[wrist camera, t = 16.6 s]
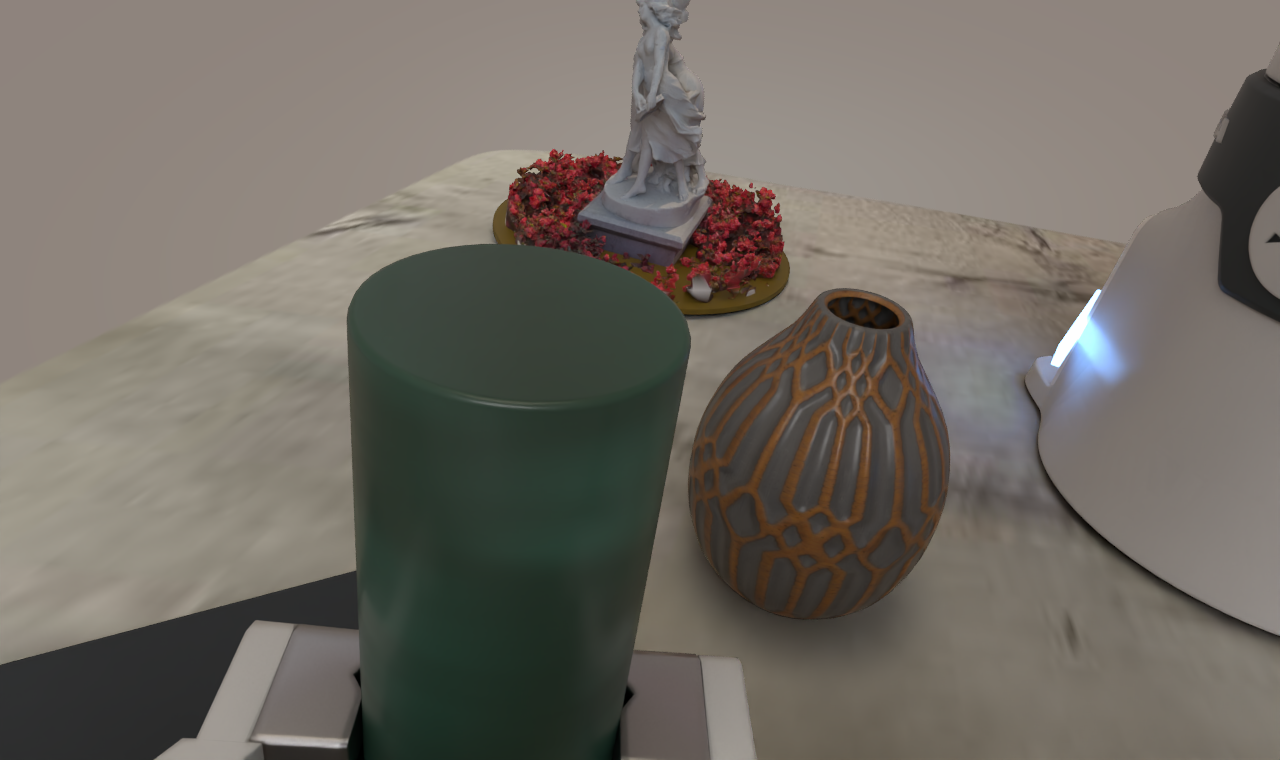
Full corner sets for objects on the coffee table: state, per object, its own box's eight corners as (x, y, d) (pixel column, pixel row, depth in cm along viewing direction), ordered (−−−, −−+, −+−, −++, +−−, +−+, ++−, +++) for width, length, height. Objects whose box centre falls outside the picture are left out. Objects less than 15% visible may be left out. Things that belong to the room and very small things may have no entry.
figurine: (438, 254, 40) (459, -100, 33) (555, 166, 53) (589, -105, 46) (763, 348, 38) (863, -11, 31) (804, 232, 51) (882, -42, 43)
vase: (694, 473, 30) (746, 230, 26) (900, 526, 29) (993, 284, 25) (648, 620, 24) (703, 338, 20) (904, 691, 23) (1025, 414, 19)
